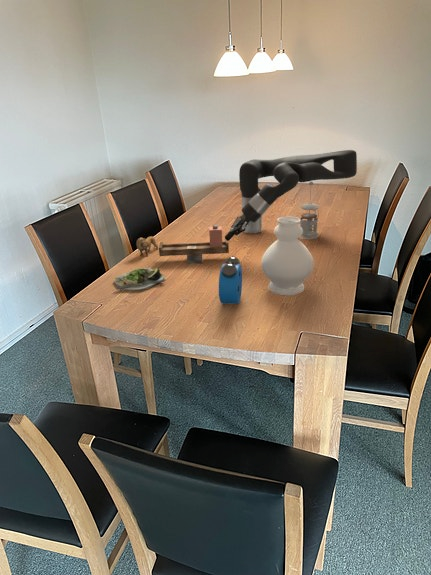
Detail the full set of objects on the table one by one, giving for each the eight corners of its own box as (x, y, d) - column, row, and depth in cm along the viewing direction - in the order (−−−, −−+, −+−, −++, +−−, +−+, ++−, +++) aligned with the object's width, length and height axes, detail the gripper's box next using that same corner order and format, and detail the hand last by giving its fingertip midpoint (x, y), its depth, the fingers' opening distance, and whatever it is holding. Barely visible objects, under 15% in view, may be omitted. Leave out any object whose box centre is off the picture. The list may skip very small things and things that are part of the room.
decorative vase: (300, 303, 144) (304, 231, 133) (252, 292, 152) (252, 223, 141) (319, 282, 157) (324, 215, 146) (274, 273, 166) (275, 209, 155)
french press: (293, 236, 203) (295, 182, 192) (306, 229, 210) (309, 177, 199) (311, 240, 196) (315, 185, 186) (324, 233, 204) (328, 180, 193)
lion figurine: (146, 260, 183) (144, 239, 179) (135, 259, 184) (132, 239, 180) (160, 247, 196) (158, 228, 192) (149, 247, 197) (147, 228, 193)
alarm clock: (225, 292, 153) (224, 252, 146) (243, 293, 152) (242, 253, 145) (219, 310, 141) (217, 268, 135) (237, 311, 140) (237, 269, 134)
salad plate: (128, 300, 151) (127, 288, 149) (102, 285, 163) (100, 273, 161) (172, 282, 163) (171, 271, 161) (145, 269, 175) (143, 258, 173)
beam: (228, 255, 184) (227, 239, 180) (229, 262, 177) (228, 244, 174) (162, 258, 184) (160, 242, 180) (160, 265, 177) (158, 248, 174)
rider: (222, 244, 180) (221, 223, 176) (222, 248, 176) (221, 227, 172) (209, 245, 180) (209, 224, 176) (210, 249, 176) (209, 227, 172)
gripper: (265, 218, 166) (234, 250, 171) (260, 209, 178) (231, 239, 183) (251, 206, 164) (220, 239, 169) (247, 197, 175) (218, 228, 181)
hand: (226, 239), depth 176 cm, fingers closed
